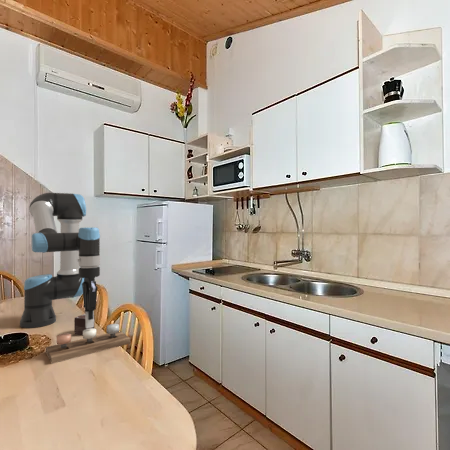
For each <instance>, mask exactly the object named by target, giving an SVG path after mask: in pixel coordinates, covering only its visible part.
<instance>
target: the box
mask: <svg viewBox="0 0 450 450" xmlns="http://www.w3.org/2000/svg"><path fill="white" fill-rule="evenodd" d="M73 322H74V329H73V330H74V335H79V336H80V335H82V336H83V331H84V330H86V329H90V328H86V321H85V313H84V314H81V315H78V316H76V317H74V319H73ZM91 328H94V329H95V326H94V327H91Z"/></svg>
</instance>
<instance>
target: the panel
mask: <svg viewBox="0 0 450 450" xmlns="http://www.w3.org/2000/svg"><path fill="white" fill-rule="evenodd" d="M119 331H120V332H117V333H115V337H110V334H108V333H107V332H106V333H103V334H98V335H97V334H96V337H94V338H92V342H90V343H87V339H84V338H81V339H76V340H71V342H69V343H67V347H66V348H61V344H57V343H56V344H53V345H50V346H46V347H45V354H46V355H47V358H48V359H49V362H50V363H51V364H55V363H59V362H64V361H67V360H71V359H74V358H79V357H82V356H87V355H90V354H94V353H98V352H101V351H106V350H110V349H113V348H118V347H122V346H125V345H129V344H131V337H130V336H128V335H127V334H125V333H124V332H123V331H121V330H119Z"/></svg>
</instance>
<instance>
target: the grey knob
mask: <svg viewBox="0 0 450 450" xmlns="http://www.w3.org/2000/svg"><path fill="white" fill-rule="evenodd" d="M119 331H120V324H118V323H111V324H107V325H106V333H108V334H110V337H115V333H117V332H119Z"/></svg>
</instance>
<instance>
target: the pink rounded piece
mask: <svg viewBox="0 0 450 450" xmlns="http://www.w3.org/2000/svg"><path fill="white" fill-rule="evenodd" d="M71 341H72V333H70V332H66V333H65V332H64V333H59V334H57V335H56V345H57V344H61V348H66V347H67V343H69V342H71Z"/></svg>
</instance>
